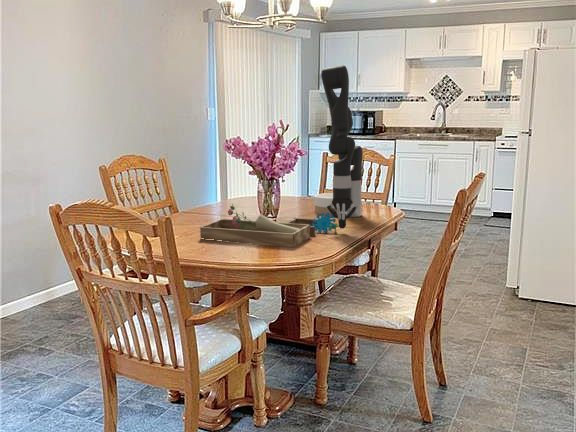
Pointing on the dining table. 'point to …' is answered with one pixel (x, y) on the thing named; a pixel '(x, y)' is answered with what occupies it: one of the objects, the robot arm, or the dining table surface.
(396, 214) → the dining table surface
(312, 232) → the cradle
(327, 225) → the gear
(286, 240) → the wooden tray
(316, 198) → the bowl
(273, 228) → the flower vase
